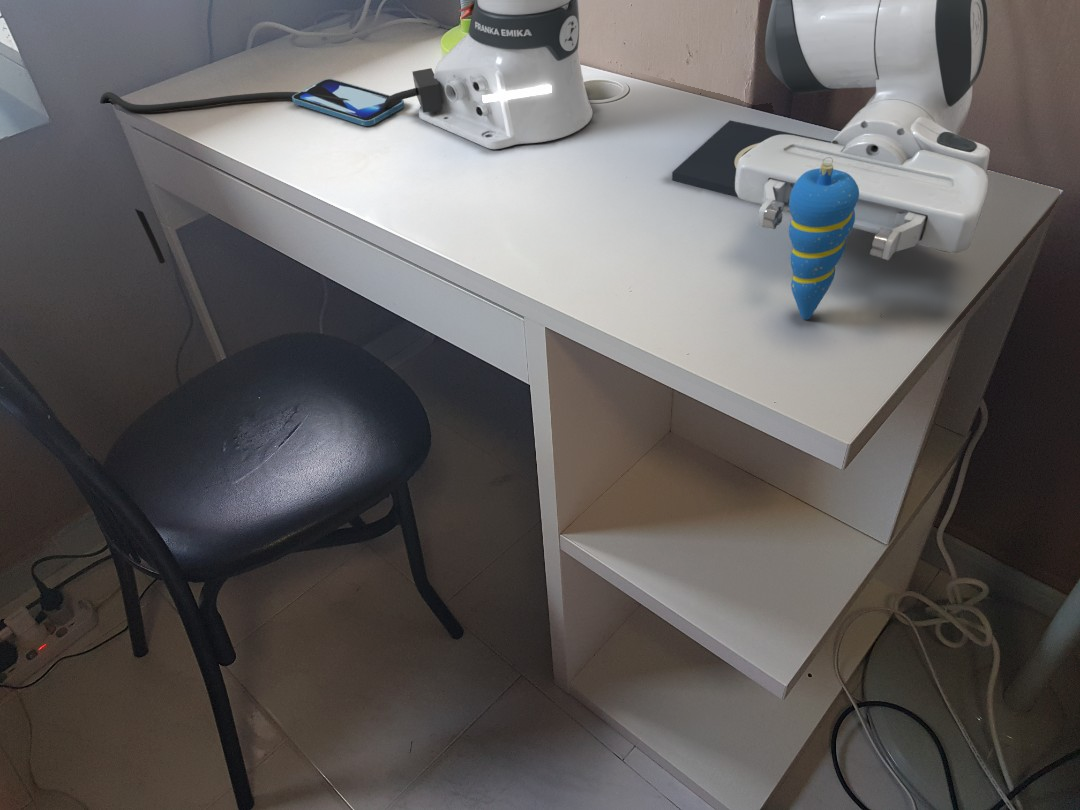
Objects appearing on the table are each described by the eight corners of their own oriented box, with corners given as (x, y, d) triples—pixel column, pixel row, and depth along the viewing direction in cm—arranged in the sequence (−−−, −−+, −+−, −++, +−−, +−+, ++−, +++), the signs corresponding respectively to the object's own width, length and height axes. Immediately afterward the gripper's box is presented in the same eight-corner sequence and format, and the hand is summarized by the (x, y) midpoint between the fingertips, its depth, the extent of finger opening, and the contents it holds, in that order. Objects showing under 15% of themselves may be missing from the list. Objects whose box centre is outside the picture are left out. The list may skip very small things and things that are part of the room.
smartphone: (367, 122, 106) (288, 97, 113) (369, 129, 107) (290, 104, 113) (407, 100, 110) (328, 77, 117) (408, 107, 111) (329, 84, 117)
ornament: (841, 335, 70) (877, 171, 60) (779, 339, 71) (804, 176, 60) (826, 298, 74) (857, 138, 64) (767, 302, 74) (788, 143, 64)
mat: (671, 180, 91) (672, 170, 91) (729, 128, 99) (729, 118, 98) (804, 214, 84) (805, 203, 84) (854, 155, 92) (856, 145, 92)
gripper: (774, 105, 78) (705, 170, 70) (1011, 151, 68) (963, 232, 60) (766, 167, 82) (701, 235, 74) (989, 219, 73) (941, 303, 65)
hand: (821, 234), depth 67 cm, fingers open, 8 cm apart
